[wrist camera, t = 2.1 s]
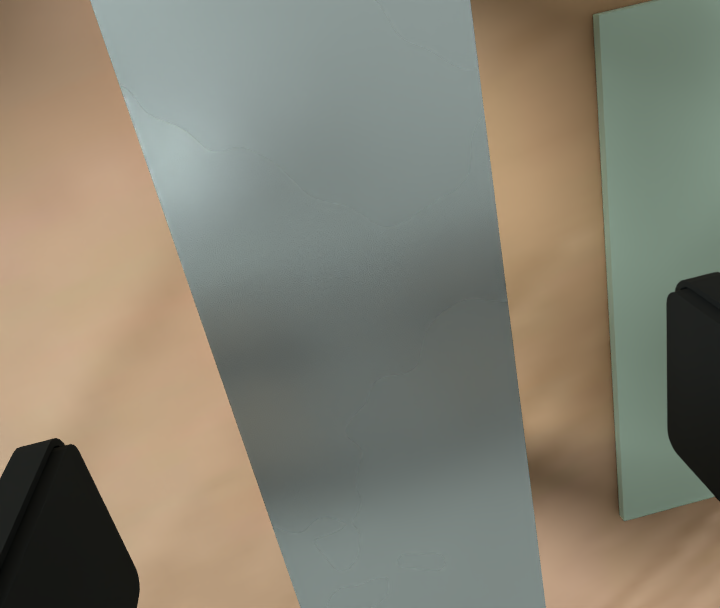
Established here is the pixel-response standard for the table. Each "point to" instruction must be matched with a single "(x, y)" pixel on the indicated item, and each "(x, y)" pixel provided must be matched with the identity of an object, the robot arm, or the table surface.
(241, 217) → the rail
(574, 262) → the table surface
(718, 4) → the mat
